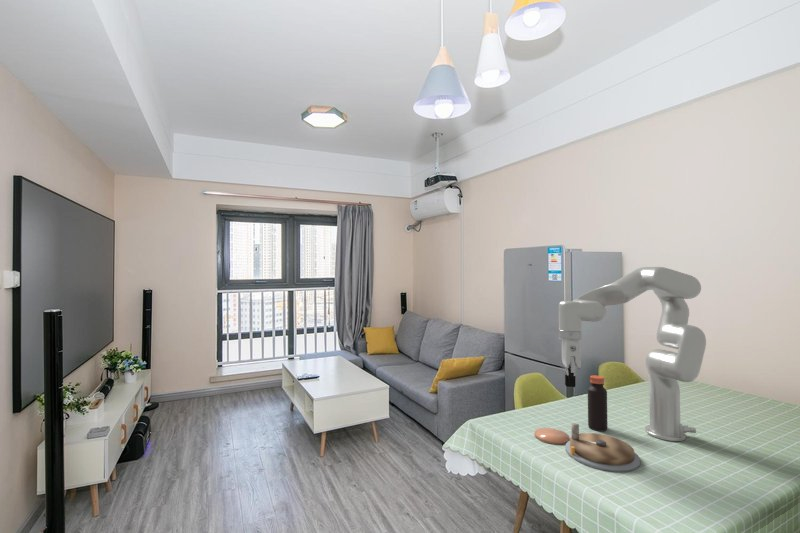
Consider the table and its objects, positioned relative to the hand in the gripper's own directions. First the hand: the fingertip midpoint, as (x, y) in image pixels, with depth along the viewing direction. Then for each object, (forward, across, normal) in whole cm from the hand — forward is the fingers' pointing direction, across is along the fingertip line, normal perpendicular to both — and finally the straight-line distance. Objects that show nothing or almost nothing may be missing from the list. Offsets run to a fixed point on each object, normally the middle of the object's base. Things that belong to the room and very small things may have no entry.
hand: (570, 386), depth 137 cm
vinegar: (+20, +16, -13) cm, 29 cm away
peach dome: (+20, +3, +6) cm, 21 cm away
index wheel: (+19, -8, -8) cm, 22 cm away
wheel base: (+20, -8, -8) cm, 23 cm away
